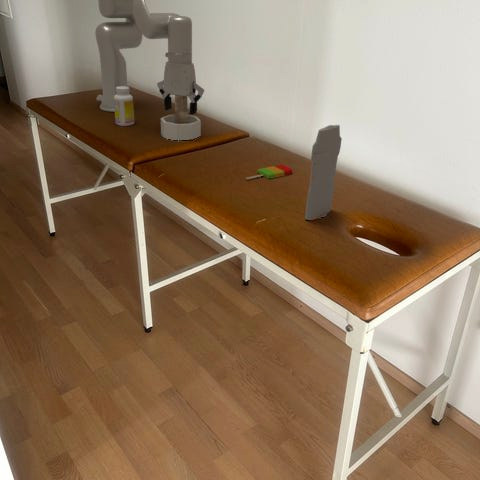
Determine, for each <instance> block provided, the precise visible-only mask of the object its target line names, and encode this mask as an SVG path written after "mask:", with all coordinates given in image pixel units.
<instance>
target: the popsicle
mask: <svg viewBox="0 0 480 480" xmlns="http://www.w3.org/2000/svg"><path fill="white" fill-rule="evenodd" d="M256 172H257V173H259V174H261V175H259V174H257V175H252V176H247V177H245V180H252V179H258V178H262V177H261V176H265V177H267V178H268V179H269V178H274V177H278V178H280V177H279V176H283V177H285V176H284V175H287V176H289V175H288V174H291V173H292V174H293V169H292V168H290V167H289V166H286V165H285V164H278V165H272V166H268V167H263V168H258V169H257V171H256ZM292 174H291V175H292ZM257 177H258V178H257ZM265 177H264V178H265ZM268 179H267V180H268ZM274 179H275V178H274ZM269 180H270V179H269Z"/></svg>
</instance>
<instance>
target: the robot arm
mask: <svg viewBox="0 0 480 480" xmlns="http://www.w3.org/2000/svg"><path fill="white" fill-rule="evenodd" d="M97 1H98V2H97V3H98V10H99V13H100V14H101V16H102V17H104V18H107V19H125V21H107V22H102V23H100V24H98V25H97V27H96V28H95V32H94V33H95V40H96V44H97V47H98V53H99V62H100V73H101V85H102V94H98V95H97V97H96V101H98V102H101V104H99V108H100V110H101V111H104V112H112V113H113V112H114V113H115V108H114V96H115V95H116V94H117V92H116V87H119V86H126V87H128V71H127V70H128V69H127V61H126V58H125V57H124V56H123V55H124V54H122V52H121V51H120V50H124V49H125V50H126V49H135V48H138V47H140V46H141V44H142V41H143V37H145V38H146V39H148V40H161V39H167V52H165V55H164V57H165V58H167V61H165V66H164V74H163V80H161V81H159V82H157V83H156V86H157V88H158V91H159V93H160V94H161V95H162V96H161V97H162V98H163V100H164V101H163V106H164V110H165V111H169V110H172V106H173V105H172V96H171V95H173V96H175V95H178V96H184V97H187V98H189V100H190V102H189V115H191V116H194V115H195V114H197V111H198V102H199V100H201V98H203V94H204V93H205V89H204V88H203V87H201V85H199V84H198V83H197V79H196V70H195V66H194V63H193V21H192V19H191V17H189V16H184V15H180V14H177V13H174V12H161V13H160V12H158V13H157V12H154V13H153V12H152V13H151V12H150V10H149V9H148V6H147V3H146V1H145V0H97ZM196 91H197V94H196Z"/></svg>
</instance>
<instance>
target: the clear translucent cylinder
mask: <svg viewBox="0 0 480 480" xmlns="http://www.w3.org/2000/svg"><path fill="white" fill-rule="evenodd" d="M174 112H175V113H174V115H175V124H187V115H188V96H187V97H184V96H178V95H174Z"/></svg>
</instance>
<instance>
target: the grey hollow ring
mask: <svg viewBox="0 0 480 480" xmlns="http://www.w3.org/2000/svg"><path fill="white" fill-rule="evenodd" d="M174 122H175V114H168V115H166V116H163V117H160V135H161V137H162V138H163V137H164V138H166V139H165V140H168V139H171V140H170V141H173V140H178V141H177V142H180V141H179V140H189V139H194V138H197V137H199V136H201V135H202V134H201V132H202V131H201V130H202V129H201V128H202V127H201V126H202V125H201V124H202V123H201V119H200V118H199V117H198V116H196V115H190V114H187V122H190V124H175V123H174ZM164 138H163V139H164ZM199 138H200V137H199ZM197 139H198V138H197Z"/></svg>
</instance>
